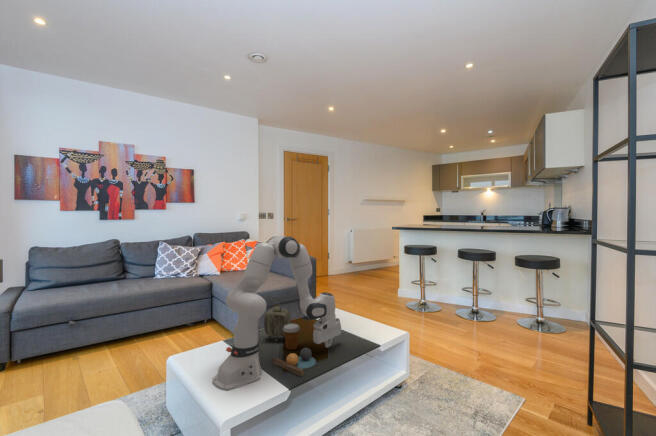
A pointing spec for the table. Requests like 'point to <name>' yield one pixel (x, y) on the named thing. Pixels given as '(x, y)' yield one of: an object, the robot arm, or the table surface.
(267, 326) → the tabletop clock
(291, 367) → the stopper wall
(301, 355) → the dark gray ball
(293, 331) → the disposable coffee cup
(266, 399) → the table surface
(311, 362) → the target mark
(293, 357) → the orange ball
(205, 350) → the table surface
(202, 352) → the table surface
